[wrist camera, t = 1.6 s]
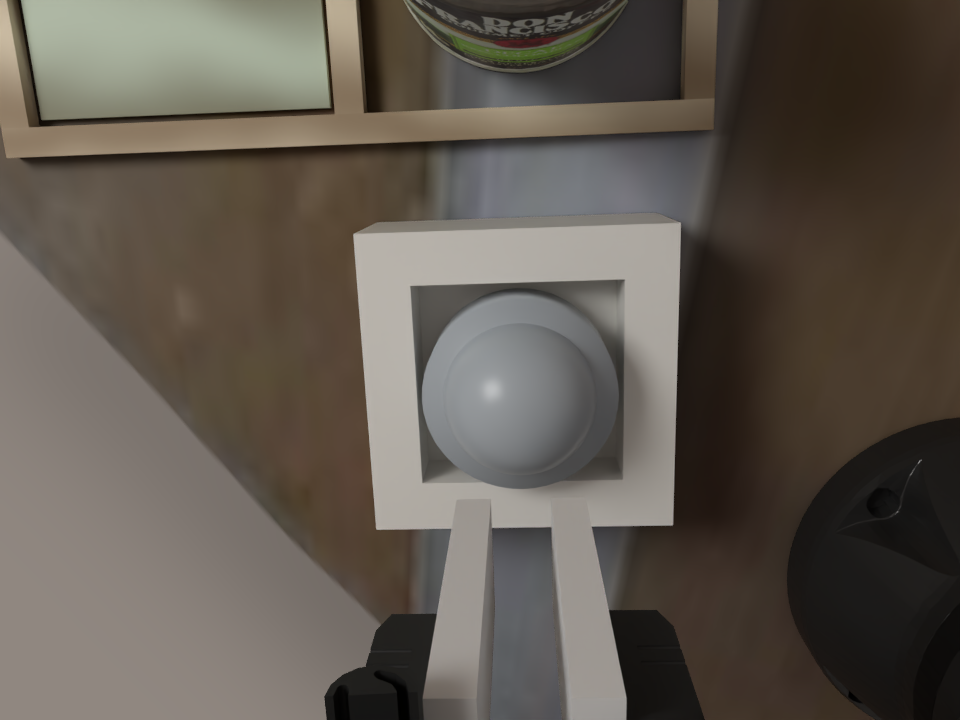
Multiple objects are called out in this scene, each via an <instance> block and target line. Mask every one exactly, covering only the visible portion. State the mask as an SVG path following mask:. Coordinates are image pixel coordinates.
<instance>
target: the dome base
mask: <svg viewBox="0 0 960 720" xmlns="http://www.w3.org/2000/svg"><path fill="white" fill-rule="evenodd" d="M353 236H354V249H355V262H356V274H357V287H358V300H359V313H360V326H361V338H362V351H363V364H364V377H365V390H366V403H367V415H368V428H369V441H370V454H371V467H372V479H373V492H374V505H375V518H376V530H385V529H452V524H453V518H454V512H455V506H456V501H457V500H460V499H491V517H492V528H526V527H552V526H551V498H584V497H586V502H587V507H588V511H589V516H590V521H591V526H592V527H596V526H667V525H673V508H674V470H675V433H676V395H677V357H678V320H679V282H680V244H681V223H680V222H678V221H675V220H673V219H670V218H668V217H666V216H663V215H661V214H658V213H631V214H603V215H574V216H545V217H517V218H488V219H459V220H431V221H402V222H377V223H375V224H373V225H371V226H369V227H367V228H365V229H363V230H361V231H359V232H357V233H355V234H353ZM512 288H530V289H536V290H541V291H545V292H548V293H551V294H554V295H556V296H558V297H561V298H563V299H565V300H566V301H568V302H569V303H571V304H573V305H574V306H575V307H577V308H578V309H579V310H580V311H581V312H583V313H584V314H585V315H586V317H587V318H588V319H589V320H590V321H591V322H592V324H593V325H594V326H595V328H596V329H597V331H598V333H599V334H600V336H601V338H602V340H603V342H604V344H605V347H606V349H607V351H608V353H609V355H610V357H611V359H612V362H613V365H614V368H615V371H616V376H617V381H618V390H619V400H618V410H617V414H616V419H615V422H614V425H613V428H612V430H611V433H610V435H609V437H608V438H607V440H606V442H605V444H604V445H603V447H602V448H601V449H600V451H599V452H598V453H597V454H596V456H595V457H594V458H593V459H592V460H591V461H590V462H589V463H588V464H586V465H585V466H584V467H583V468H582V469H580V470H579V471H577V472H576V473H574V474H573V475H571V476H569V477H567V478H565V479H563V480H561V481H559V482H556V483H553V484H550V485H547V486H542V487H537V488H529V489H511V488H504V487H498V486H494V485H491V484H487V483H485V482H482V481H480V480H478V479H475V478H473V477H472V476H470V475H468V474H466V473H465V472H463V471H462V470H461V469H459V468H458V467H457V466H455V465H454V464H453V463H452V462H451V461H450V460H449V459H448V458H447V457H446V456H445V455H444V454H443V452H442V451H441V450H440V448H439V447H438V446H437V444H436V442H435V441H434V439H433V437H432V436H431V433H430V431H429V429H428V426H427V424H426V420H425V416H424V412H423V405H422V385H423V378H424V373H425V370H426V367H427V363H428V361H429V359H430V356H431V354H432V352H433V349H434V347H435V345H436V342H437V340H438V338H439V336H440V334H441V332H442V331H443V329H444V327H445V326H446V324H447V323H448V322H449V321H450V320H451V318H452V317H453V316H454V315H455V314H456V313H457V312H458V311H460V310H461V309H462V308H463V307H464V306H466V305H467V304H469V303H470V302H472V301H473V300H475V299H477V298H479V297H481V296H483V295H486V294H489V293H491V292H495V291H499V290H503V289H512Z"/></svg>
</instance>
